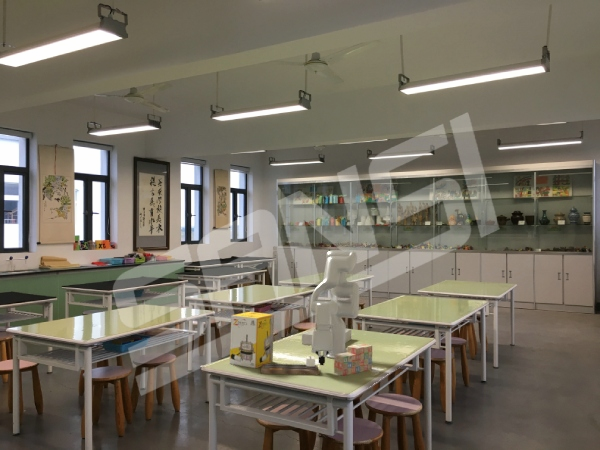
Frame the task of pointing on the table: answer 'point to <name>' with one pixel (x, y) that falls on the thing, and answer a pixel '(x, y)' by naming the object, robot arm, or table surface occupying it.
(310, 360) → the fader knob
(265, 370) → the fader console
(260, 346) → the packaging box
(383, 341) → the table surface
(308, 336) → the box
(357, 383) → the table surface
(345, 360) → the stack of blocks
